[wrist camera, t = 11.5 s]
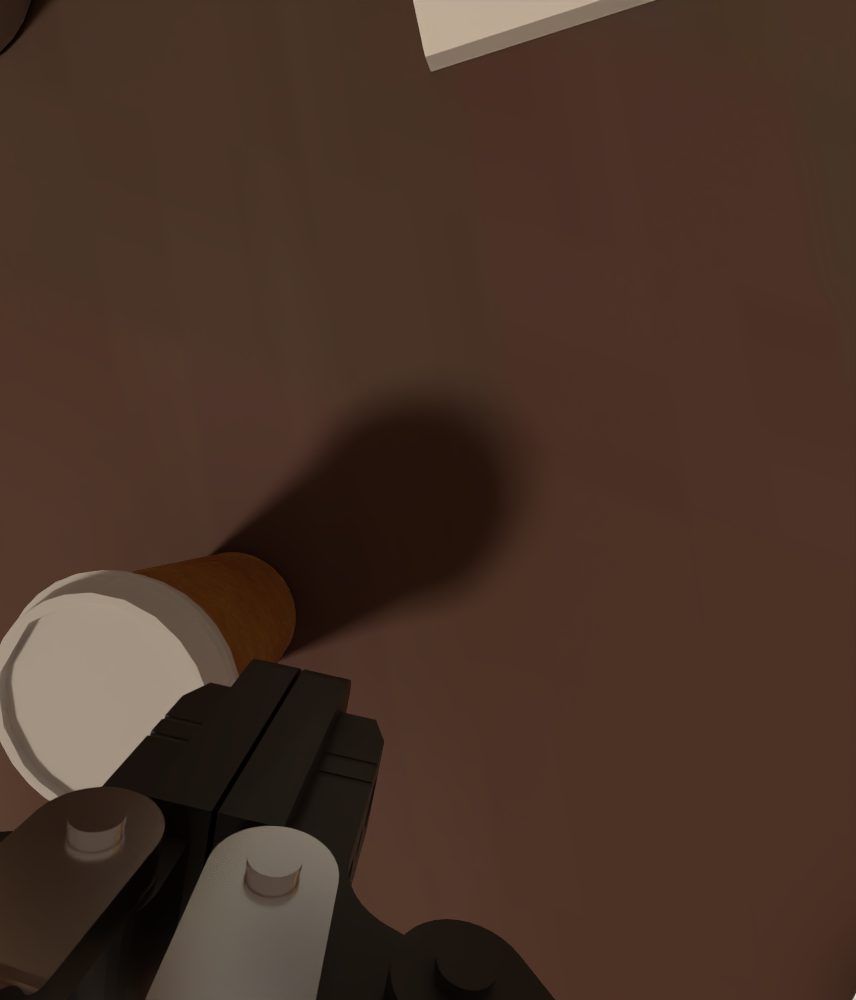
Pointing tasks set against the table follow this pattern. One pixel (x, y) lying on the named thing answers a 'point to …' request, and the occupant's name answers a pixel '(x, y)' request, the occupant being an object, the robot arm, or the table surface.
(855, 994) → the plate
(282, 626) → the disposable coffee cup
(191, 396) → the table surface
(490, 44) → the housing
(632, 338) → the table surface
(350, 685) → the robot arm
